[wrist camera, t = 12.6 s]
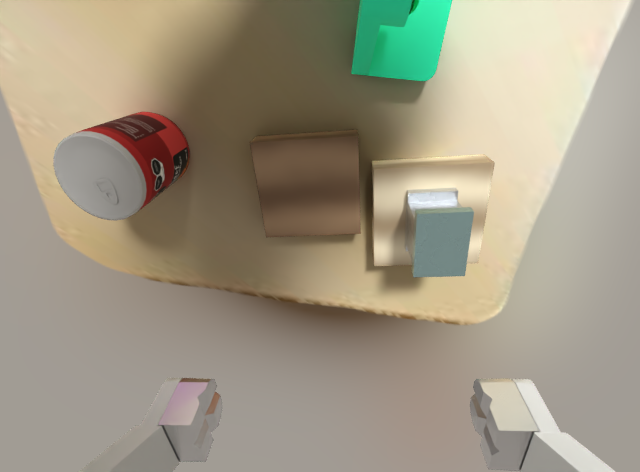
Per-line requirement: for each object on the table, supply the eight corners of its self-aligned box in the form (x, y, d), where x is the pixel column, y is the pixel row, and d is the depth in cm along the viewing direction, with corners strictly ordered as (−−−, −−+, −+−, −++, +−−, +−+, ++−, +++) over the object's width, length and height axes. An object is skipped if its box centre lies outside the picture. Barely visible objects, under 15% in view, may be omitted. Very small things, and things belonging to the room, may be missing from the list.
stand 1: (256, 136, 38) (249, 142, 36) (357, 129, 37) (358, 135, 35) (271, 225, 43) (266, 237, 41) (359, 221, 42) (360, 233, 40)
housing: (404, 246, 40) (413, 277, 35) (407, 189, 37) (416, 213, 32) (449, 245, 40) (464, 276, 34) (455, 187, 36) (474, 211, 31)
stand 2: (371, 160, 39) (373, 169, 36) (484, 154, 38) (494, 162, 35) (372, 253, 44) (374, 266, 42) (470, 249, 43) (478, 263, 41)
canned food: (160, 191, 42) (105, 235, 33) (109, 135, 39) (32, 164, 30) (206, 158, 40) (162, 195, 30) (156, 95, 37) (89, 114, 27)
